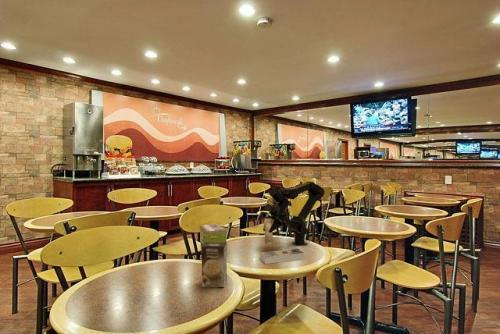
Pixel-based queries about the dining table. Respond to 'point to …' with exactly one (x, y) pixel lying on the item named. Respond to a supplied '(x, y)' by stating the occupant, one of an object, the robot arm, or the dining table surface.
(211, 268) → the coffee box
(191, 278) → the dining table surface
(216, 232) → the tea box
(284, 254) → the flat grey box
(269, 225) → the peg
